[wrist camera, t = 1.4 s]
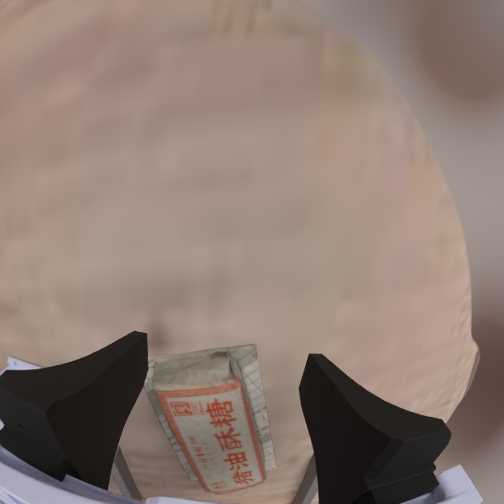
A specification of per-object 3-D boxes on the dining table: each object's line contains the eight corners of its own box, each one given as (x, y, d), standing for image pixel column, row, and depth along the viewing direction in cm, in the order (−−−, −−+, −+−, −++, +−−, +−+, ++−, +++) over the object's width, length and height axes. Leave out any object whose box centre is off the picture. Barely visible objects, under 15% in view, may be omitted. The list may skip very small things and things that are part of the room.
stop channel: (136, 502, 25) (132, 520, 21) (109, 444, 22) (100, 468, 18) (298, 507, 28) (303, 525, 24) (323, 452, 25) (333, 476, 21)
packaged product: (121, 385, 16) (262, 372, 17) (138, 352, 21) (254, 338, 22) (190, 501, 20) (282, 493, 20) (191, 471, 24) (275, 463, 25)
